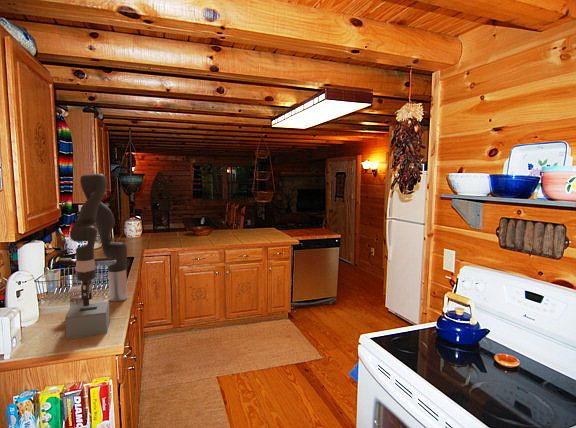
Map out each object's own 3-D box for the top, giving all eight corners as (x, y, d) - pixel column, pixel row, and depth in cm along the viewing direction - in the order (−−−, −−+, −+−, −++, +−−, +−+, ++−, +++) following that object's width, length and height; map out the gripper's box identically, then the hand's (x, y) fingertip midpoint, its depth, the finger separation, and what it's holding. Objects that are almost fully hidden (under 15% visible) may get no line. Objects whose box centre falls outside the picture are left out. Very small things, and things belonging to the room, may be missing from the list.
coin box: (72, 325, 166) (71, 305, 165) (109, 320, 172) (108, 301, 171) (66, 338, 153) (65, 317, 152) (107, 333, 159) (105, 312, 158)
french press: (91, 309, 184) (89, 264, 181) (88, 318, 174) (85, 270, 171) (70, 312, 181) (67, 265, 177) (65, 321, 170) (62, 272, 167)
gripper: (79, 265, 164) (81, 298, 166) (73, 274, 151) (75, 309, 153) (97, 264, 167) (98, 296, 169) (93, 272, 154) (94, 307, 156)
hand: (87, 302), depth 161 cm, fingers open, 8 cm apart
